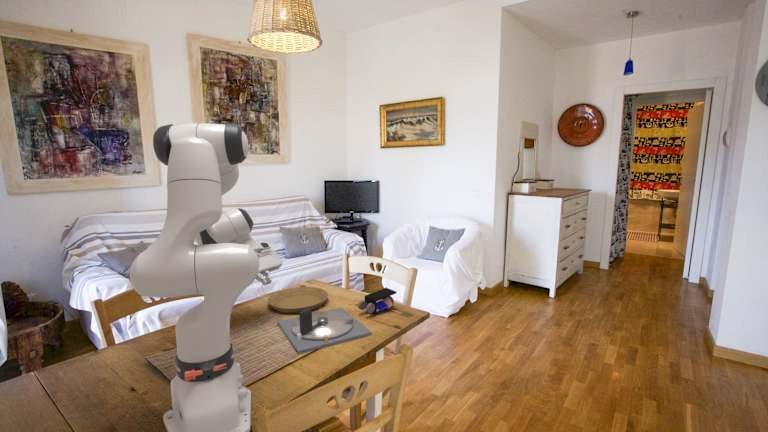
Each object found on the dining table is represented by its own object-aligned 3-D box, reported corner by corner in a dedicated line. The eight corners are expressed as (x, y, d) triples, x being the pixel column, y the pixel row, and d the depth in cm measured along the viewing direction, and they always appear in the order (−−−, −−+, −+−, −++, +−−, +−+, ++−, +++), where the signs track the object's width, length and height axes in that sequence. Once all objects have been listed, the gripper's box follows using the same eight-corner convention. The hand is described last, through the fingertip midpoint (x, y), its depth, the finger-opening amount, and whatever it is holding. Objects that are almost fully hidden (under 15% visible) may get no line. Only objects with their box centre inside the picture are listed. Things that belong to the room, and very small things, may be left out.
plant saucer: (276, 321, 137) (276, 312, 137) (262, 300, 158) (261, 293, 157) (337, 307, 149) (337, 300, 149) (316, 290, 170) (316, 283, 169)
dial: (319, 309, 143) (318, 288, 142) (364, 321, 133) (364, 298, 132) (278, 331, 125) (277, 306, 124) (327, 345, 115) (326, 319, 114)
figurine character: (370, 323, 137) (398, 307, 147) (368, 304, 136) (396, 289, 146) (358, 318, 142) (386, 303, 152) (356, 299, 140) (384, 285, 151)
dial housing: (371, 334, 125) (371, 326, 124) (298, 354, 112) (297, 344, 112) (341, 309, 146) (341, 302, 146) (277, 323, 134) (277, 315, 133)
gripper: (225, 253, 123) (247, 286, 120) (272, 242, 141) (293, 270, 137) (218, 265, 126) (239, 297, 123) (265, 252, 144) (284, 280, 140)
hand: (268, 283), depth 130 cm, fingers closed
